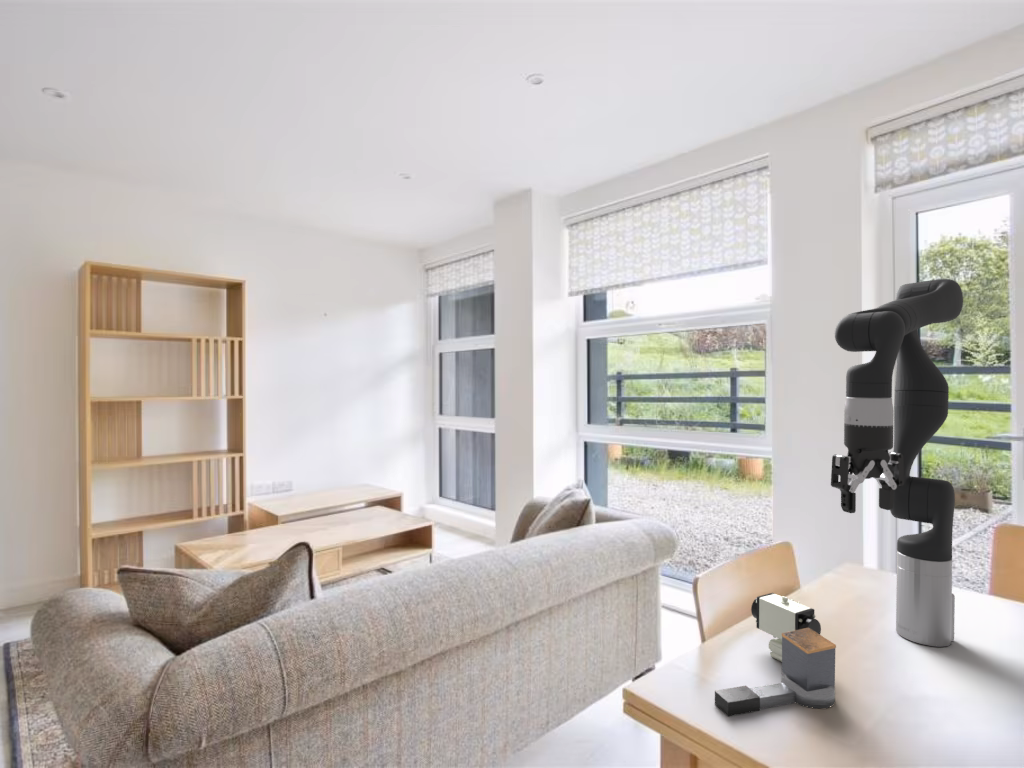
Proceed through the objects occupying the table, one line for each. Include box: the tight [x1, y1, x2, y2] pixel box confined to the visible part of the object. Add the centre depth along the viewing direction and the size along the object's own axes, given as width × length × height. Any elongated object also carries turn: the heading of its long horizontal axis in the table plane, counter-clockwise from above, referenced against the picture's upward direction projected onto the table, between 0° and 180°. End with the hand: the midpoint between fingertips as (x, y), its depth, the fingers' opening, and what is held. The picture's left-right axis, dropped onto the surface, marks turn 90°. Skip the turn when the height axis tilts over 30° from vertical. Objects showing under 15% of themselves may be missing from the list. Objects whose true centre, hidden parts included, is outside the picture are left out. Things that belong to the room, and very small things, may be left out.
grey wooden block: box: [781, 628, 837, 692], centre depth 92 cm, size 6×6×7 cm
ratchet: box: [714, 671, 836, 717], centre depth 91 cm, size 21×8×6 cm, turn 105°
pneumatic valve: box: [750, 592, 822, 663], centre depth 104 cm, size 6×12×12 cm, turn 27°
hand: (867, 510), depth 99 cm, fingers open, 8 cm apart
